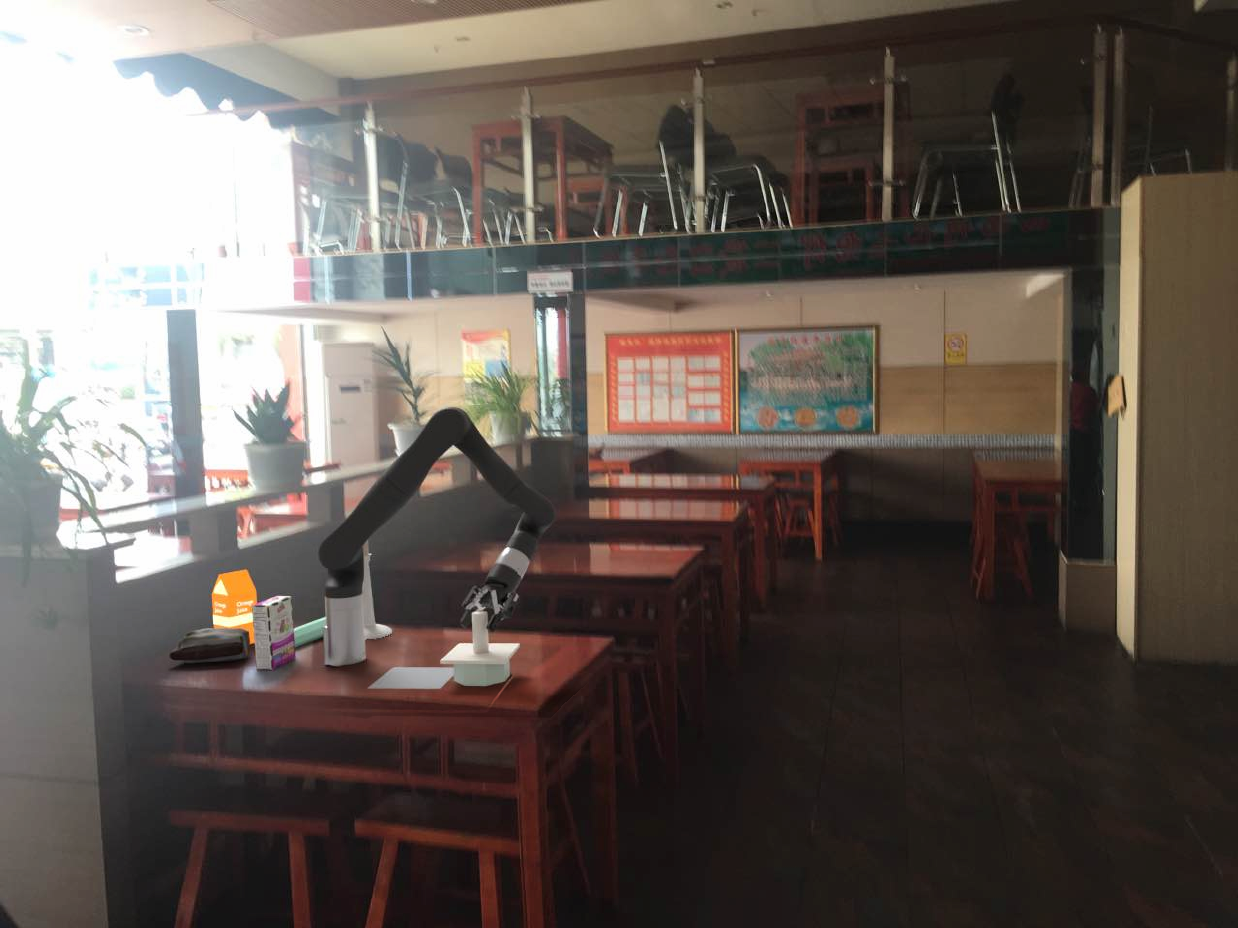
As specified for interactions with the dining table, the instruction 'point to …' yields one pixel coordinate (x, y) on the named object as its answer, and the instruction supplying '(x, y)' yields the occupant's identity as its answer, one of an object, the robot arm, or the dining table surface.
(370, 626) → the candlestick
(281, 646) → the candy bar box
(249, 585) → the orange juice
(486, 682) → the bowl
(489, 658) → the cover
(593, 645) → the dining table surface
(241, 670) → the dining table surface
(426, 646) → the dining table surface
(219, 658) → the dark pillow-shaped pouch
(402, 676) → the mat
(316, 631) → the container
